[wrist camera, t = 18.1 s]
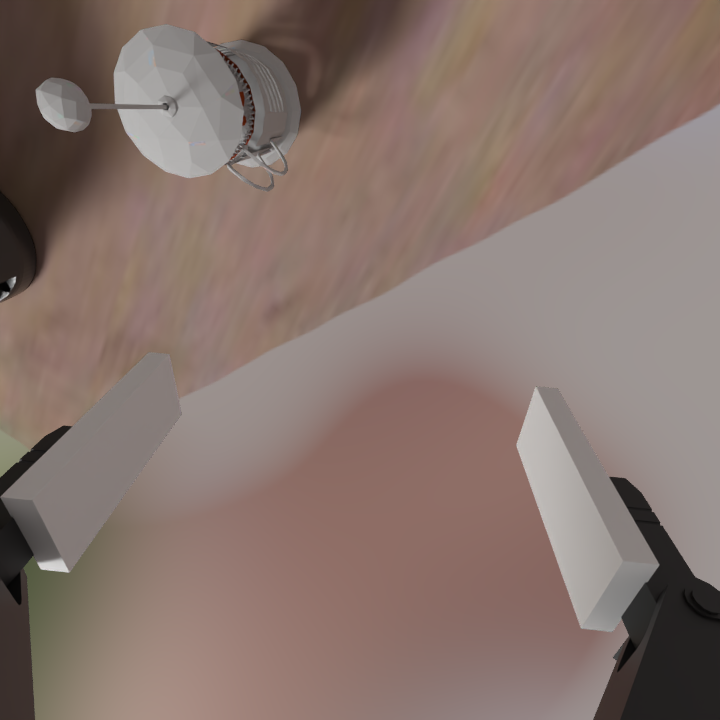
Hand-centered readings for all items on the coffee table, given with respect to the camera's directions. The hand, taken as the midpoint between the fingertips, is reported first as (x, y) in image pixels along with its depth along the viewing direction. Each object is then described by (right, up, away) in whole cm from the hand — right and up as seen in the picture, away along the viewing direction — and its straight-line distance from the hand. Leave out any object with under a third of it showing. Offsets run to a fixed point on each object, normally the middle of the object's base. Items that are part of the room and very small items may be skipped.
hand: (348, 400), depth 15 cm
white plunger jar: (-9, +24, +23) cm, 34 cm away
